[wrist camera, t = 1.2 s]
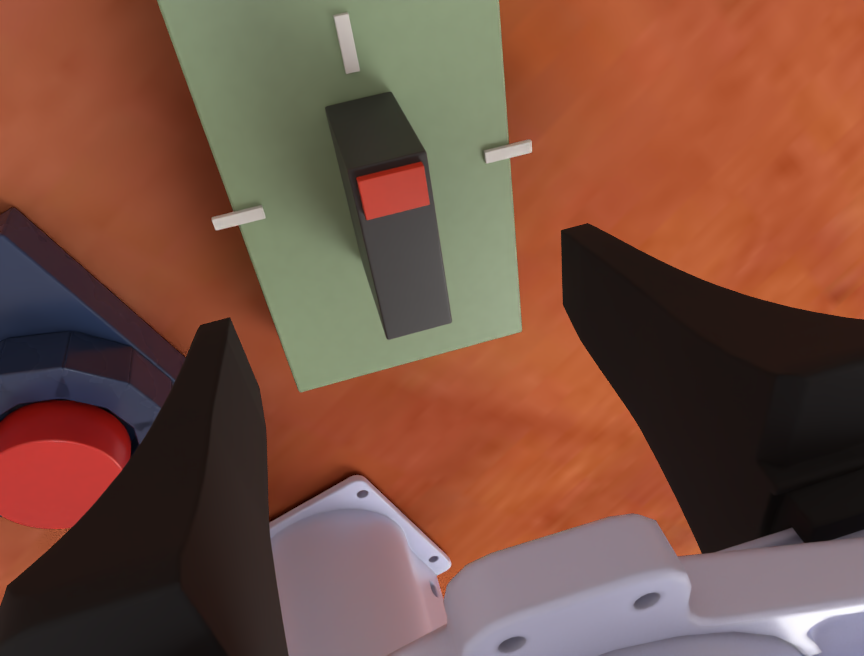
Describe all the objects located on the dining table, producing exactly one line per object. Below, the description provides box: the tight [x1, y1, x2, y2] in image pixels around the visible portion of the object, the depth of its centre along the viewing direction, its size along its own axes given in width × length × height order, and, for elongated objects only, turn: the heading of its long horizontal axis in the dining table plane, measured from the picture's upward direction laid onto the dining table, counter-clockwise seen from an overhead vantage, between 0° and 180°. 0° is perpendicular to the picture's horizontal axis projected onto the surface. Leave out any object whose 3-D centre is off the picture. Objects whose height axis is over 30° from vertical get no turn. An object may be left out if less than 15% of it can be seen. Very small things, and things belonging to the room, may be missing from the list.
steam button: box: [0, 400, 131, 529], centre depth 22 cm, size 4×4×2 cm
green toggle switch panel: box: [157, 0, 532, 392], centre depth 21 cm, size 14×9×3 cm, turn 8°
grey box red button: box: [0, 207, 185, 517], centre depth 24 cm, size 12×7×4 cm, turn 28°
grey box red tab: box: [325, 92, 452, 340], centre depth 19 cm, size 5×2×4 cm, turn 7°
